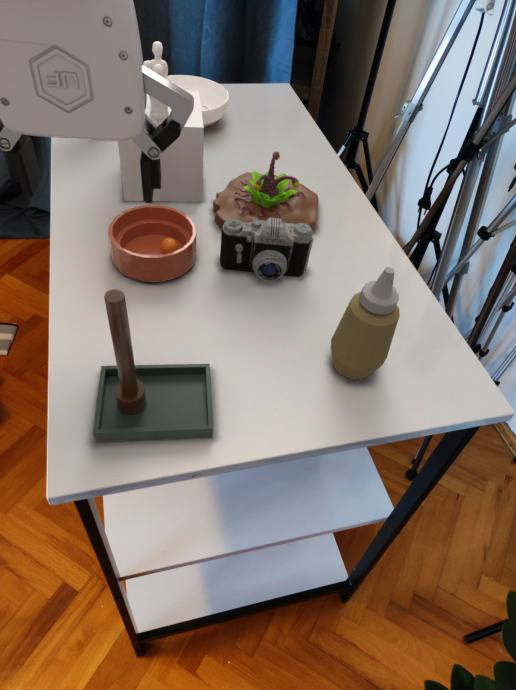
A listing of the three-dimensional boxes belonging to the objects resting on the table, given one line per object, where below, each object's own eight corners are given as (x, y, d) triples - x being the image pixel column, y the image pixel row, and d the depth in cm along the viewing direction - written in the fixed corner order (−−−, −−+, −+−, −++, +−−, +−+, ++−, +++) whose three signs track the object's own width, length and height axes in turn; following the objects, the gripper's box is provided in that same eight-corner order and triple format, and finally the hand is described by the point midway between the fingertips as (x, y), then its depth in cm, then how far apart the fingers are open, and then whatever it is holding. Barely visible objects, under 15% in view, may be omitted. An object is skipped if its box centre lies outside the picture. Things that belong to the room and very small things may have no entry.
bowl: (138, 102, 120) (136, 75, 115) (216, 99, 125) (217, 74, 120) (152, 141, 108) (150, 113, 103) (237, 137, 113) (239, 110, 109)
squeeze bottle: (343, 393, 68) (381, 300, 54) (315, 352, 73) (343, 256, 59) (390, 377, 71) (437, 284, 57) (360, 337, 75) (397, 243, 62)
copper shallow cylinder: (109, 284, 77) (104, 257, 73) (115, 231, 86) (112, 204, 82) (197, 284, 79) (197, 258, 75) (194, 232, 88) (195, 206, 84)
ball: (160, 259, 82) (159, 245, 79) (160, 248, 84) (159, 234, 81) (178, 260, 82) (178, 245, 80) (178, 248, 84) (178, 234, 82)
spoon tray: (95, 442, 59) (92, 433, 58) (103, 375, 66) (101, 365, 64) (212, 437, 62) (213, 428, 60) (209, 372, 68) (209, 363, 66)
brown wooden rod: (116, 415, 61) (93, 308, 47) (118, 392, 64) (97, 283, 49) (145, 414, 62) (132, 308, 48) (146, 391, 64) (134, 283, 50)
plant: (327, 198, 100) (340, 146, 92) (305, 254, 87) (316, 199, 79) (235, 174, 102) (239, 121, 94) (200, 225, 90) (200, 169, 81)
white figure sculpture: (197, 162, 104) (199, 28, 85) (203, 212, 93) (206, 70, 74) (126, 160, 102) (111, 22, 83) (122, 211, 90) (104, 64, 71)
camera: (217, 282, 80) (219, 231, 73) (220, 255, 85) (223, 206, 77) (306, 291, 81) (318, 242, 74) (305, 264, 86) (316, 216, 78)
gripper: (-140, -67, 26) (-29, 212, 39) (192, -32, 28) (192, 222, 41) (-85, -93, 31) (-3, 162, 43) (195, -61, 33) (194, 173, 46)
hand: (92, 191), depth 42 cm, fingers open, 9 cm apart
